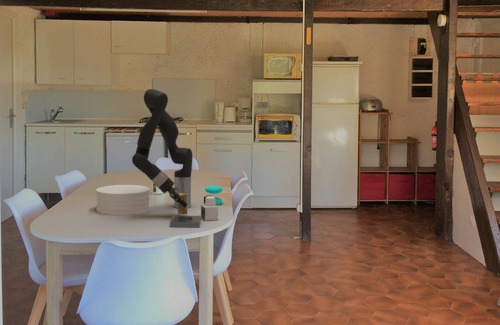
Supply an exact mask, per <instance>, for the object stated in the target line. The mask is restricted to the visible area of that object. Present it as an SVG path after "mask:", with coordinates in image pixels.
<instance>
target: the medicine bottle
mask: <svg viewBox="0 0 500 325" xmlns="http://www.w3.org/2000/svg"><path fill="white" fill-rule="evenodd" d="M216 197H217V196H215V195H212V194H211V195H209V194H208V195H205V196H204V197H203V204H201V205H200V216H201V219H202V220H203V221H205V222H208V221H209V220H213V221H218V220H219V205H215V204H216ZM209 222H210V221H209Z"/></svg>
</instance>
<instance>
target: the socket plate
mask: <svg viewBox="0 0 500 325" xmlns="http://www.w3.org/2000/svg"><path fill="white" fill-rule="evenodd" d="M201 219H202V218H201V215H172V216H171V219H170V220H169V221H170V222H169V228H200V226H201V222H200V221H202V220H201Z"/></svg>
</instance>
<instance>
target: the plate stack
mask: <svg viewBox="0 0 500 325" xmlns="http://www.w3.org/2000/svg"><path fill="white" fill-rule="evenodd" d="M95 196H96V200H95V201H96V212H97V213H99V214H102V215H108V216H129V215H130V216H132V215H139V214H144V213H146V212H149V211H150V209H151V208H150V204H151V203H150V198H151V197H150V187H148V186H145V185H137V184H116V185H115V184H113V185H104V186H100V187H98V188H96V195H95Z"/></svg>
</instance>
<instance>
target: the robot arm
mask: <svg viewBox="0 0 500 325" xmlns="http://www.w3.org/2000/svg"><path fill="white" fill-rule="evenodd" d="M143 101H144V104H145V106H146V108H147V109H148V110H149V112H150V114H151V116H150V118H149V119H148V120H147V122H146V123H145V124H144V125H143V126H142V128H141V130H140V131H139V136H138V139H137V143H136V144H137V147H136V151H135V153H134V154H133V156H132V157H131V162H132V164H133V166H134V167H136V169H138V170H139V171H141V172H142V173H143V174H145V176H146V177H147V178H148V179H149V180H151V182H152V183H153V184H154V185H155V186H156V187H157V188H158V189H159V190H160V191H161V192H162V193H163V194H166V193H168V194H169V197H170V198H171V199H173V201H174V202H173V203H174V204H173V207H174V208H177V209H178V203H180V204H181V205H182V206H183V207H184V208H185V207H186V206H187V209H189V208H191V207H192V206H191V204H192V203H191V201H192V197H191V196H192V171H193V170H192V169H193V151H192V149H191V148H188V147H179V146H178V145H177V139H178V137H179V132H180V130H179V128H178V125H177V123H176V122H175V120H174V119H173V117H172V116H171V115H170V114H169V113H168V112H167V110H166V109H167V106H168V102H169V98H168V95H167V93H165V92H163V91H161V90H157V89H154V88H149V89H147V90H146V91H145V92H144V95H143ZM157 128H158V131H159V132H160V135H161V137H162V138H163V141H164V143H165V145H166V147H167V150H168V153H169V157H170V159H171V161H172V162H173V163H174V164H176V165H182V168H181V169H177V170H175V171H174V175H173V176H174V180H172V179H171V178H170V177H169V176H168V175H167V174H166V173H165V172H163V171H162V170H161V169H160V168H159V167H158V166H157V165H156V164H154V163H152V162H151V161H150V160H149V156H150V151H151V150H150V149H151V146H152V144H153V140H154V136H155V132H156V130H157ZM179 193H188V203H187V204H188V205H187V204H186V203H185V202H184V201H183V200H182V198H180V195H179Z"/></svg>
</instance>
